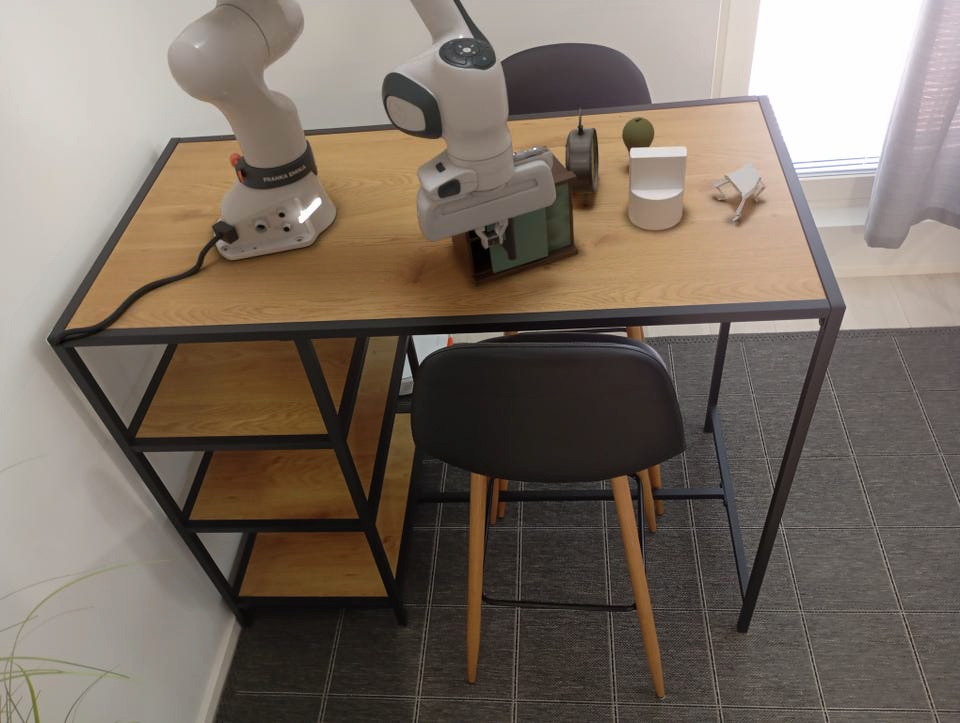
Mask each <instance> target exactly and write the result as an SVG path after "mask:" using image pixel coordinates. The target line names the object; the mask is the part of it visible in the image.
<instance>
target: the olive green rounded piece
mask: <svg viewBox="0 0 960 723" xmlns="http://www.w3.org/2000/svg"><path fill="white" fill-rule="evenodd" d="M654 128H655V127H654V126H653V124H652V123H651V121H650V120H648V119H647V118H645V117H642V116H637V117H633V118H631V119H630V120H628V121H627V122H626V123H625V125H624V126H623V128H622V134H621V138H622V142H623V144H624V146H625V147H626V150H627V152H628V156H629V157H630V150H631V148H645V147H651V145H652V143H653V141H654V138H655V129H654Z"/></svg>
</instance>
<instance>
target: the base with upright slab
mask: <svg viewBox="0 0 960 723" xmlns="http://www.w3.org/2000/svg"><path fill="white" fill-rule="evenodd" d="M687 158H688V149H687V147H686V146H685V145H682V146H650V147H645V148H631V150H630V156H629V163H628V166H629V168H628V169H629V170H628V203H627V204H628V208H627V209H628V210H627V216H628V220H629V221H630V222H631V223H632V224H633V225H634V226H636V227H638V228H640V229H644V230H647V231H662V230H667V229H670V228H672V227H674V226H676V225H678V223H680V222H681V221H682V217H683V208H684V197H685V186H686V172H687V161H688V160H687Z"/></svg>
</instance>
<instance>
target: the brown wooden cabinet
mask: <svg viewBox="0 0 960 723" xmlns="http://www.w3.org/2000/svg"><path fill="white" fill-rule="evenodd" d="M542 147H546V148H548V146H547V145H543V146H542ZM543 151H544V150H543ZM552 155H553V166H552V169H551V173H552V176H553V180H554V185H555V191H556V199H555V201H554V202H553V204H552V205H550V206H547V207H545V213H546V229H547V244H548V256H546V257H543V258H540V259H537V260H534V261H531V262H528V263H524V264H521V265H518V266H515V267H512V268H509V269H506V270H503V271H499V272H496V273H494V272H493V271H492V264H491V256H490V249H489V248H486V249H485V248H484V247H483V245H482V242H481V238H480V237H479V236H478V235H477V234H476V232H475V231H474V230H470V231H467V232H464V233H461V234H457V235H454V236H451V237H450V239H451V243H452V248H453V249H454V252H455V253H456V255H457V257H458V258H459V260H460V262H461V263H462V265H463V267H464V269H465V270H466V272H467V274H468V275H469V277H470V279H471V281H472V282H473V284H474V286H475V287H479V286H481V285H484V284H488V283H491V282H495V281H497V280H500V279H503V278H506V277H509V276H512V275H516V274H518V273H519V274H520V273H521V272H525V271H528V270H531V269H534V268H537V267H540V266H541V267H542V266H544V265H547V264H550V263H553V262H557V261H559V260H562V259H565V258H568V257H572V256H575V255H577V254H579V249H578V247H577V246H576V244H575V234H574V209H573V208H574V207H573V206H574V205H573V204H574V202H573V192H572V182H574V181H576V175H575V174H574V173H573V172H572V171H569V172H568V171H567V169H566V166H564V165H563V163H562V162H561V161H560V160H559V159H558V158H557V157H556V155H555V154H554V153H553V152H552ZM483 232H484V233H485V232H487V226H485V231H483Z"/></svg>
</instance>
